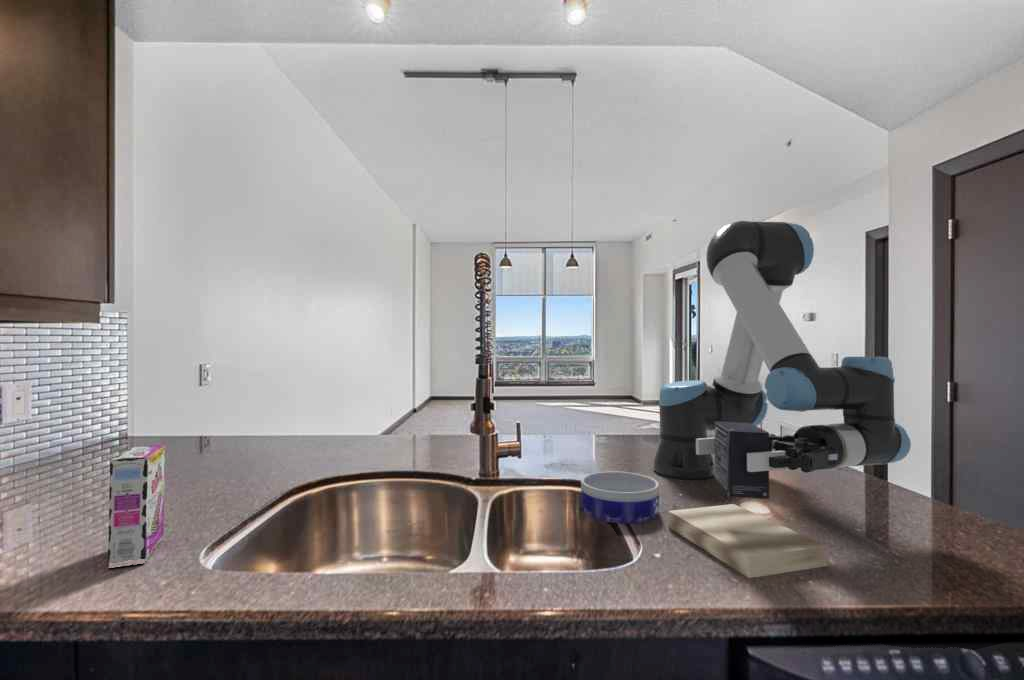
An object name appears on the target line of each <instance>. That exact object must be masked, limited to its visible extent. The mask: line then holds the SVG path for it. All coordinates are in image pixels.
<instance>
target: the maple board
mask: <svg viewBox="0 0 1024 680" xmlns="http://www.w3.org/2000/svg"><path fill="white" fill-rule="evenodd" d="M667 520H668V521H667V522H668V523H667V524H668V527H669V528H668V529H670V530H672V531H673V532H675V533H676V532H677V533H676V534H678V533H679V534H678V535H680V536H681V535H682V536H681V537H683V538H684V537H685V539H686V538H687V539H686V540H688V541H689V540H690V541H689V542H691V543H692V542H693V543H692V544H693V545H695V544H696V546H697V545H698V546H697V547H699V548H700V547H701V548H700V549H702V548H703V549H704V550H703V549H702V550H703V551H705V550H706V551H705V552H706V553H708V552H709V554H710V555H712V556H713V557H715V558H716V559H718V560H719V561H721V562H722V563H724V564H726V565H727V566H729V567H731V568H732V569H734V570H736V571H737V572H739V573H740V574H742V575H743V576H744V577H746V578H748V579H753V578H760V577H767V576H773V575H778V574H786V573H792V572H798V571H805V570H810V569H817V568H823V567H824V568H825V567H828V545H826V544H824V543H822V542H819V541H817V540H815V539H813V538H811V537H808V536H807V535H804V534H801V533H800V532H797V531H795V530H793V529H791V528H788V527H785V526H784V525H781V524H779V523H777V522H774V521H773V520H770V519H768V518H765V516H764V517H763V516H761V515H759V514H757V513H754V512H752V511H750V510H748V509H746V508H744V507H741V506H739V505H737V504H735V503H729V504H720V505H712V506H701V507H693V508H684V509H674V510H668V519H667Z"/></svg>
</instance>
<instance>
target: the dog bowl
mask: <svg viewBox="0 0 1024 680" xmlns="http://www.w3.org/2000/svg"><path fill="white" fill-rule="evenodd" d="M580 494H581V495H580V496H581V509H582V512H583V513H584V514H585V515H587V516H588V517H590V518H592V519H595V520H598V521H601V522H606V523H610V524H611V523H613V524H614V523H615V524H622V525H623V524H625V525H626V524H627V525H630V524H642V523H647V521H648V522H650V521H653V520H655V519H657V517H658V516H659V512H660V511H659V510H660V509H659V508H660V506H659V505H660V484H659V482H658V481H657V480H656V479H654V478H653V477H650V476H647V475H644V474H641V473H640V474H639V473H637V472H636V473H635V472H630V471H629V472H628V471H618V470H617V471H615V470H613V471H598V472H593V473H589V474H587V475H584V476H583V477H581V479H580Z"/></svg>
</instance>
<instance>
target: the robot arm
mask: <svg viewBox="0 0 1024 680" xmlns="http://www.w3.org/2000/svg"><path fill="white" fill-rule="evenodd" d="M814 246H815V245H814V242H813V238H812V237H811V234H810V232H809V231H808V229H806V228H805V226H802V225H801V224H797V223H794V222H793V223H791V222H786V221H785V222H784V221H749V220H739V221H733V222H730V223H728V224H726V225H724V226H723V227H722V228H720V229H719V230H717V232H716V233H715V234H714V235H713V237H711V239H710V241H709V243H708V246H707V250H706V265H707V269H708V272H709V274H710V276H711V277H712V278H711V279H713V282H715V284H717V285H719V286H722V288H723V289H724V291H725V293H726V294H727V297H728V299H729V300H730V301H731V304H732V306H733V308H734V309H735V311H736V315H735V318H734V323H733V327H732V331H731V334H730V338H729V343H728V346H727V351H726V354H725V358H724V361H723V362H724V363H723V366H722V370H721V371H720V372H717V373H715V374H714V376H713V381H712V384H711V385H708V384H707V382H706V381H704V380H701V379H700V380H699V379H698V380H695V379H692V380H683V381H682V380H681V381H674V382H670V383H666V384H663V385H662V386H661V388H660V389H659V400H658V405H659V442H658V446H657V448H656V451H655V455H654V458H653V462H652V466H653V467H652V468H653V469H654V470H653V471H654V472H655V471H656V472H655V473H657V474H660V475H662V476H665V477H671V478H678V479H690V480H692V479H693V480H694V479H695V480H696V479H698V480H700V479H708V478H712V477H715V462H714V460H713V456H712V455H715V437H708V431H715V421H718V422H736V423H751V424H753V425H755V426H757V427H759V425H760V424H761V423H763V421H764V419H765V417H766V415H767V413H768V405H769V403H770V404H771V405H772V406H773V407H774V408H776V409H778V410H780V411H789V412H790V411H791V412H799V413H802V412H807V411H822V410H824V411H825V410H827V411H828V410H830V411H831V410H833V411H834V410H836V411H837V410H842V416H843V422H842V423H827V424H825V423H824V424H815V425H814V424H813V425H812V424H811V425H804V426H801V427H799V428H798V429H797V430H796V431H795V432H794V435H792V434H791V435H790V434H784V435H776V434H774V433H769V452H755V453H747V471H749V472H758V471H769V472H770V471H779V470H786V469H788V470H791V471H795V470H798V469H800V471H801V472H803V473H806V474H807V473H811V472H815V471H817V470H830V469H836V470H838V471H843V469H844V468H845V467H846V468H847V467H858V466H875V465H876V466H881V465H882V466H884V465H887V464H893V463H895V462H897V463H898V462H899V461H901V460H903V459H904V458H906V457H907V456H908V454H909V453H910V450H911V448H912V447H911V446H912V444H911V438H910V436H909V435H908V433H907V431H906V430H905V428H904V427H903V426H901V425H900V424H899V423H896V419H895V394H894V393H895V388H894V387H895V386H894V385H895V380H896V379H895V377H894V369H893V362H892V360H891V359H890V358H888V357H887V356H844V358H842V360H841V365H840V366H836V367H835V366H834V367H833V366H831V367H820V366H819V364H818V363H817V361H816V360H815V358H814V357H813V355H812V354H811V352H810V351H809V349H808V348H807V346H806V344H805V343H804V341H803V339H802V337H801V336H800V335H799V333H798V331H797V329H796V328H795V327H794V324H793V323H792V322H791V320H790V319H789V317H788V316H787V314H786V312H785V311H784V309H783V306H781V304H780V303H781V298H782V295H783V293H784V291H785V290H786V289H788V288H790V287H792V285H793V283H794V279H795V278H796V277H795V276H796V275H800V274H802V273H804V272H805V271H806V270H807V269H808V268H809V267H810V266H811V264H812V261H813V258H814V251H815V249H814ZM763 363H764V364H765V365H766V368H767V370H768V371H769V373H768V374H767V376H766V378H765V380H764V389H765V390H766V392H765V391H764V390H763V384H762V383H761V382H760V381H759V377H760V373H761V370H762V366H763ZM767 400H768V402H769V403H768V402H767Z"/></svg>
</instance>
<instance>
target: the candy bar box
mask: <svg viewBox="0 0 1024 680" xmlns="http://www.w3.org/2000/svg"><path fill="white" fill-rule="evenodd" d="M165 460H166V445H145V446H135V447H134V446H132V448H130V449H128V450H126V451H125V452H123V453H121V454H120V455H117V456H116V457H114V458H112V459H110V460H109V493H108V494H109V498H108V500H109V501H108V503H109V504H108V539H107V540H108V542H107V544H108V546H107V547H108V548H107V549H108V550H107V564H108V563H118V562H124V561H128V560H137V559H145V558H146V557H147V556H148V554H149V553H150V552H151V551H152V549H153V548H154V546H155V545H156V544H157V542H158V541H159V539H160V538H161V537H162V535H163V536H164V521H165V517H164V516H165V515H164V514H165V513H164V512H165V477H166V476H165V474H166V473H165V472H166V471H165V469H166V463H165V462H166V461H165Z"/></svg>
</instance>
